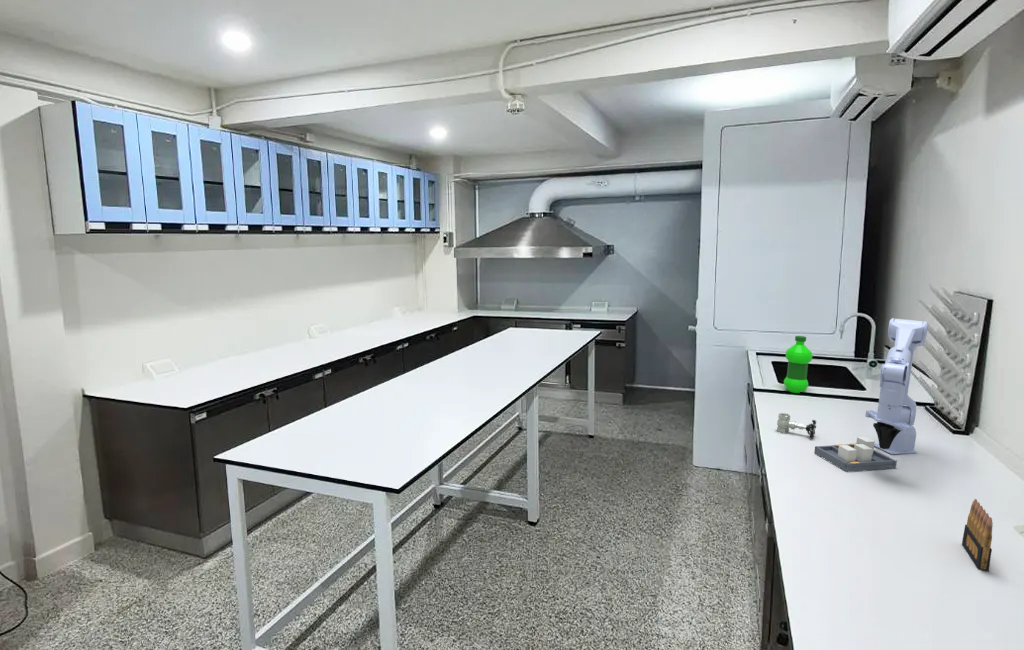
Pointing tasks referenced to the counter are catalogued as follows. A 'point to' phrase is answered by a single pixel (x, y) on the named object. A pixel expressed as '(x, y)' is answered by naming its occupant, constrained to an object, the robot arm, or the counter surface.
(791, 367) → the plastic bottle
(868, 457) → the off-white block
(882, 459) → the grey divided tray
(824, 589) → the counter surface
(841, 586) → the counter surface
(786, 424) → the valve
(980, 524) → the ammunition clip
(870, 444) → the pale grey block
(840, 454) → the off-white plastic block
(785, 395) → the counter surface
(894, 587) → the counter surface
